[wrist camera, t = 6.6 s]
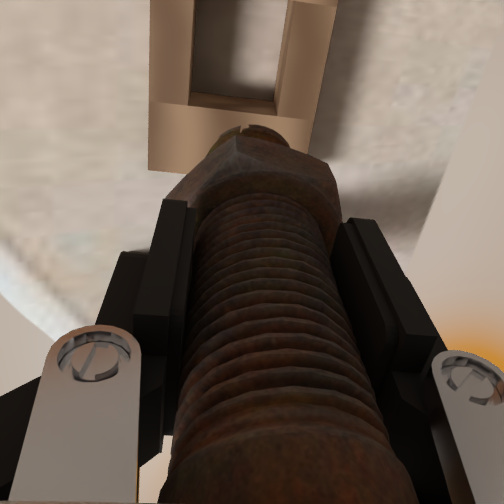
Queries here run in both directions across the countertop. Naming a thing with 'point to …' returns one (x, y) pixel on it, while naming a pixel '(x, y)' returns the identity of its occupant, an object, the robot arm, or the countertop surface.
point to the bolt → (272, 342)
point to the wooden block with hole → (226, 107)
